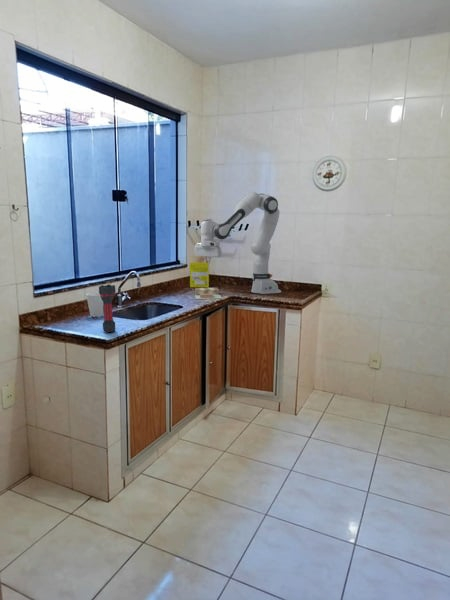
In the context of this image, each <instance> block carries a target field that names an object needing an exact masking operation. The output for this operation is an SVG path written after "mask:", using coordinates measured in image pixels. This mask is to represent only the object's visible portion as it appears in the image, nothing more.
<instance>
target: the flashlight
mask: <svg viewBox="0 0 450 600" xmlns="http://www.w3.org/2000/svg"><path fill="white" fill-rule="evenodd" d="M98 293H99V294H100V296H101V299H102V301H103V322H102V329H103V330H104V331H105V332H107V333H109V332H112V333H114V332H113V331H115V332H116V321H114V317H113V315H114V313H113V300H114V298H115V296H116V286H115V284H113V285H111V284H107V285H103V284H101V285H99V286H98ZM103 330H102V331H103ZM104 331H103V332H104ZM105 332H104V333H105Z"/></svg>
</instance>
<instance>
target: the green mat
mask: <svg viewBox="0 0 450 600" xmlns="http://www.w3.org/2000/svg"><path fill="white" fill-rule="evenodd" d="M194 298H195V300H217V299H218V300H219V299H220V300H221V299H223V297H222V296H221V295H220V294H219V295H213V298H200V295H196V294H195V295H194Z"/></svg>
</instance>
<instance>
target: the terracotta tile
mask: <svg viewBox="0 0 450 600" xmlns="http://www.w3.org/2000/svg"><path fill="white" fill-rule="evenodd" d="M200 298H213V293H210V294H200Z"/></svg>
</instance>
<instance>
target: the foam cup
mask: <svg viewBox="0 0 450 600" xmlns="http://www.w3.org/2000/svg"><path fill="white" fill-rule="evenodd" d="M85 297H86V301H87V306H88V310H89V314H90V315H89V316H90V317H91V316H93V317H95V316H102V317H103V316H104V307H103V301H102V299H101V296H100V294H99V292H89V293H86V296H85Z"/></svg>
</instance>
